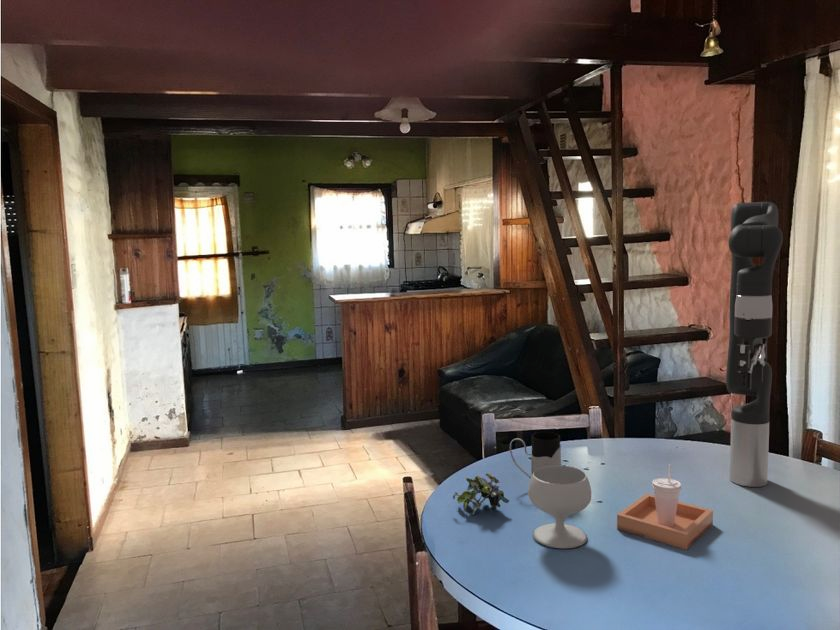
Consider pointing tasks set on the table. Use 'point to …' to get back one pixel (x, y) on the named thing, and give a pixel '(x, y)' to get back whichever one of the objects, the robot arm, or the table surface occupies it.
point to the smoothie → (666, 498)
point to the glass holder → (542, 450)
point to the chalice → (559, 503)
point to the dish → (645, 523)
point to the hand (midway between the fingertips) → (751, 385)
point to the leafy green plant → (484, 488)
